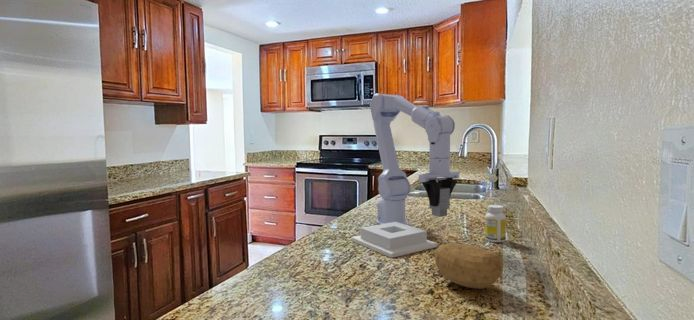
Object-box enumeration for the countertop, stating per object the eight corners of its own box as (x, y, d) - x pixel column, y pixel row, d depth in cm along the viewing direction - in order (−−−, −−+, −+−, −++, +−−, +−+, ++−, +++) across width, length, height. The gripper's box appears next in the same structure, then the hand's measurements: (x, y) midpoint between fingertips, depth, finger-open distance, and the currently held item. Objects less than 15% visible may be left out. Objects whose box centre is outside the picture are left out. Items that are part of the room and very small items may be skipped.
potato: (450, 269, 82) (450, 234, 82) (512, 289, 72) (512, 249, 71) (422, 281, 76) (422, 243, 75) (486, 304, 65) (486, 260, 65)
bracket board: (351, 240, 105) (351, 226, 105) (394, 232, 114) (394, 219, 114) (391, 257, 90) (391, 242, 90) (437, 246, 99) (437, 232, 99)
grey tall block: (429, 214, 106) (429, 187, 106) (439, 213, 109) (439, 186, 108) (439, 217, 103) (439, 189, 103) (449, 215, 105) (449, 188, 105)
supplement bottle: (502, 237, 107) (502, 204, 106) (508, 243, 101) (509, 208, 101) (482, 237, 107) (483, 204, 107) (488, 242, 102) (488, 208, 101)
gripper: (431, 159, 97) (431, 210, 98) (467, 157, 105) (467, 204, 106) (413, 158, 103) (413, 206, 104) (448, 156, 111) (448, 200, 112)
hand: (439, 205), depth 106 cm, fingers closed on grey tall block, 4 cm apart
